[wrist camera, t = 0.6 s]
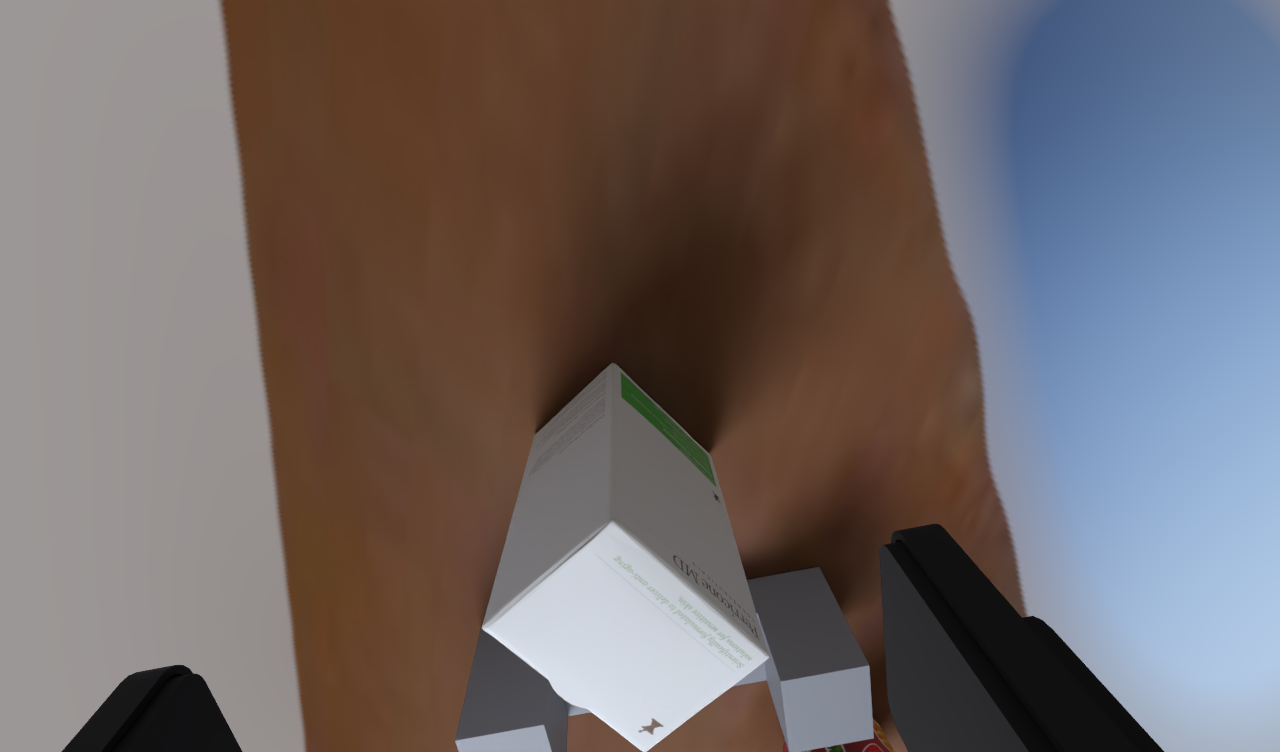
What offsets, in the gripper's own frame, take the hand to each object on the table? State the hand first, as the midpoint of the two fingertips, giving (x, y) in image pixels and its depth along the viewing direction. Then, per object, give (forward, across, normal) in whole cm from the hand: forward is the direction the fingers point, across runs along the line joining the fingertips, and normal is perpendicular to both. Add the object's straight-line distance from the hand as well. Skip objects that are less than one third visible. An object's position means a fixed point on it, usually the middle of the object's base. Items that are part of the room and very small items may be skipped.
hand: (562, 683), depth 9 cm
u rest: (+27, 0, +23) cm, 35 cm away
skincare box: (+27, 0, +10) cm, 29 cm away
